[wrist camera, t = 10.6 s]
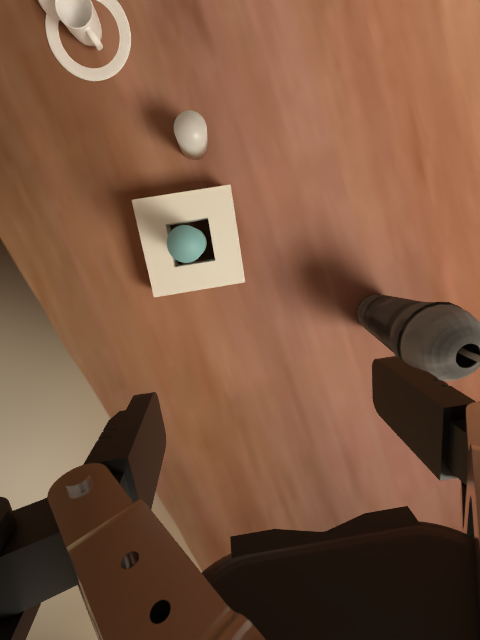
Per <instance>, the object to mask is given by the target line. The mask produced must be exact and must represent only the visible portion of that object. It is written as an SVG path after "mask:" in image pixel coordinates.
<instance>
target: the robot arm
mask: <svg viewBox="0 0 480 640" xmlns="http://www.w3.org/2000/svg"><path fill="white" fill-rule="evenodd" d="M372 387H373V403H374V406H375V409H376V411H377V413H378V414H379V416H380V417H381V418H382V419H383V420H384V421H385V422H386V423H387V424H388V425H389V426H390V427H391V429H392V430H393V431H394V432H395V433H396V434H397V435H398V436H399V437H400V438H401V439H402V440H403V441H404V443H405V444H406V445H407V446H408V447H409V448H410V449H411V450H412V451H413V452H414V453H415V454H416V455H417V456H418V458H419V459H420V460H421V461H422V462H423V463H424V464H425V465H426V466H427V467H428V468H429V469H430V470H431V472H432V473H433V474H434V475H435V476H436V477H437V478H438V479H439V480H440V481H442V480H448V479H454V478H459V479H460V480H461V488H460V501H461V531H458V530H455V529H452V528H449V527H446V526H442V525H438V524H433V523H427V522H418V520H417V519H416V517H415V516H414V515H413V513H412V512H411V510H410V509H409V508H408V506H405V507H399V508H393V509H388V510H382V511H376V512H370V513H365V514H362V515H360V516H358V517H356V518H354V519H352V520H350V521H347V522H345V523H343V524H341V525H339V526H337V527H335V528H332V529H330V530H328V531H325V532H312V531H296V530H281V529H272V530H266V531H261V532H255V533H249V534H243V535H237V536H232V537H230V538H231V554H229V555H227V556H225V557H223V558H221V559H220V560H218V561H216V562H215V563H213V564H212V565H211V566H209V567H208V568H207V569H205V570H204V571H203V572H202V573H201V572H200V571H199V569H198V568H197V567H196V566H195V564H194V563H193V562H192V561H191V560H190V558H189V557H188V556H187V554H186V553H185V552H184V551H183V549H182V548H181V547H180V546H179V545H178V543H177V542H176V541H175V540H174V538H173V537H172V536H171V534H170V533H169V532H168V531H167V529H166V528H165V527H164V526H163V524H162V523H161V522H160V521H159V519H158V518H157V517H156V516H155V514H154V513H153V512H152V511H151V508H152V504H153V500H154V495H155V491H156V487H157V482H158V478H159V474H160V470H161V465H162V461H163V457H164V453H165V448H166V433H165V428H164V423H163V418H162V414H161V409H160V404H159V400H158V396H157V394H156V393H155V392H153V393H146V394H139V395H134V396H133V398H132V400H131V402H130V403H129V405H128V407H127V409H126V410H125V411H119V412H118V413H117V414H116V415H115V416H114V417H112V418H111V419H110V420H109V421H108V423H107V425H106V426H105V428H104V430H103V432H102V433H101V435H100V437H99V440H98V441H97V442H96V444H95V446H94V447H93V449H92V451H91V452H90V454H89V456H88V457H87V459H86V461H85V463H84V464H83V465H82V466H79V467H77V468H74V469H72V470H71V471H69V472H67V473H66V474H64V475H63V476H61V477H60V478H59V479H58V480H57V481H56V482H55V483H54V484H53V485H52V486H51V488H50V490H49V492H48V497H47V498H45V499H43V500H40V501H38V502H35V503H32V504H30V505H27V506H25V507H22V508H20V509H17V510H14V511H12V508H11V506H10V503H9V501H8V500H7V499H6V498H3V497H0V640H26V637H27V635H28V632H29V630H30V628H31V625H32V623H33V621H34V618H35V616H36V614H37V611H38V609H39V607H40V604H41V602H43V601H45V600H47V599H49V598H51V597H53V596H55V595H57V594H59V593H61V592H64V591H66V590H68V589H70V588H72V587H74V586H76V585H78V587H79V590H80V593H81V595H82V598H83V601H84V603H85V606H86V609H87V611H88V614H89V616H90V619H91V622H92V625H93V627H94V630H95V632H96V635H97V638H98V640H480V401H478V402H476V401H474V400H472V399H471V398H469V397H468V396H466V395H464V394H463V393H461V392H460V391H458V390H456V389H455V388H453V387H452V386H448V384H447V383H445V382H444V381H442V380H439V378H437V377H436V376H434V375H432V374H431V373H429V372H427V371H424V370H421V369H418V368H415V367H412V366H411V365H409V364H407V363H406V362H404V361H403V360H401V359H400V358H398V357H396V356H393V357H386V358H380V359H375V360H374V361H373V363H372Z"/></svg>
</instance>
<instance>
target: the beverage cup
mask: <svg viewBox="0 0 480 640" xmlns="http://www.w3.org/2000/svg"><path fill="white" fill-rule="evenodd" d="M357 316H358V320H359V322H360V324H361V325H363V326H364V328H365V329H366V330H368V331H369V332H370V333H371V334H372V335H374V336H375V337H376V338H377V339H378V340H379V341H381V342H382V343H383V344H384V345H385V346H387V347H388V348H389V349H390V350H391V351H392V352H394V354H395V356H396V357H398V358H400V359H401V360H403V361H404V362H406V363H407V364H409V365H411V366H412V367H415V368H418V369H421V370H424V371H427V372H429V373H431V374H432V375H434V376H436V377H437V378H439V380H442V381H453V380H457V379H460V378H464V377H466V376H468V375H470V374H471V373H473V372H475V371H476V370H477V369H478V368H479V367H480V322H479V321H478V320H477V319H476V318H475V317H474V316H473V315H471V314H470V313H469V312H467V311H465V310H463V309H462V308H461V307H459V306H457V305H454V304H452V303H449V302H435V303H434V302H420V301H415V300H409V299H403V298H398V297H392V296H385V295H372V296H369V297H367V298H365V299H364V300H363V301H362V302H361V303H360V305H359V308H358V312H357Z"/></svg>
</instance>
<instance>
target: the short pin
mask: <svg viewBox="0 0 480 640" xmlns="http://www.w3.org/2000/svg"><path fill="white" fill-rule="evenodd" d="M174 133H175V136H176V139H177V141H178V144H179V146H180V149H181V151H182V153H183V154H184V155H185V156H186V157H187V158H189V159H192V160H197V159H200V158H202V157H203V156H204V155H205V153H206V152H207V148H208V141H207V128H206V123H205V121H204V119H203V117H202V116H201V115H200V114H198V113H197V112H195V111H191V110H187V111H184V112H182V113H180V114H179V115H178V116H177V117H176V119H175V122H174Z"/></svg>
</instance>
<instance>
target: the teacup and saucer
mask: <svg viewBox="0 0 480 640" xmlns="http://www.w3.org/2000/svg"><path fill="white" fill-rule="evenodd" d="M38 1H39V3H40V5H41V7H42V8H43V10H44V11H45V12H46V20H45V27H46V35H47V39H48V42H49V45H50V48H51V50H52V52H53V54H54V55H55V57H56V58H57V60H58V61H59V62H60V64H61V65H62V66H63V67H64V68H65V69H66V70H68V71H69V72H70V73H72V74H73V75H75V76H77V77H79V78H81V79H85V80H89V81H101V80H105V79H108V78H110V77H112V76H114V75H115V74H116V73H118V72H119V71H120V70H121V68H122V67H123V66H124V64H125V62H126V60H127V58H128V55H129V52H130V47H131V32H130V27H129V23H128V20H127V17H126V15H125V13H124V11H123V9H122V7H121V6H120V4H119V3H118V1H117V0H97V1H99V2H101V3H102V4H103V5H105V6H106V7H107V8H108V9H109V10H110V12H111V13H112V14H113V16H114V18H115V20H116V22H117V25H118V28H119V33H120V44H119V49H118V52H117V54H116V56H115V57H114V59H113V60H112V61H111V62H110V63H109V64H107V65H106V66H104V67H101V68H87V67H84V66H81V65H79V64H78V63H76V62H75V61H74V60H72V59H71V58H70V57H69V55H68V54H67V53H66V51H65V50H64V48H63V46H62V44H61V41H60V37H59V32H58V23H59V20H60V21H62V22H63V23H64V25H65V26H66V27H67V28H68V30H69V31H70V32H71V33H72V34H73V35H74V36H75V37H76V38H77V39H78V40H79V41H80V42H82V43H83V44H85V45H87V46H96V48H97V49H98V50H101V49H102V48H103V45H102V43H101V42H100V40H101V37H102V29H101V24H100V21H99V18H98V15H97V13H96V11H95V8H94V6H93V4H92V1H91V0H38ZM85 24H86V25H85ZM84 25H85V26H84Z"/></svg>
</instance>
